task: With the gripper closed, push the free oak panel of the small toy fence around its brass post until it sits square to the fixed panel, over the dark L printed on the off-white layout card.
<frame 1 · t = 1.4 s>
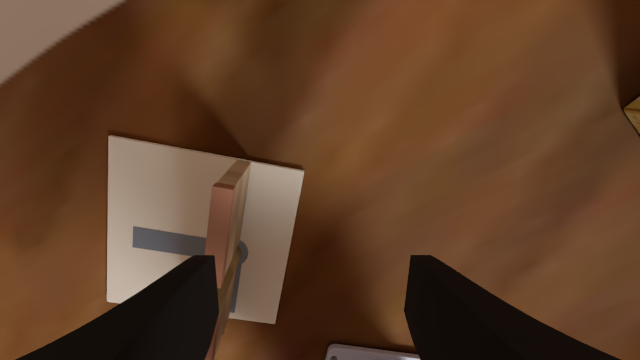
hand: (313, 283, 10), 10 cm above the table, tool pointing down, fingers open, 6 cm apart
layout card: (202, 237, 20), on the table
folding panel: (229, 218, 17), point 3 cm above the table, hinge at 0.0°
fixed panel: (233, 249, 20), resting on layout card
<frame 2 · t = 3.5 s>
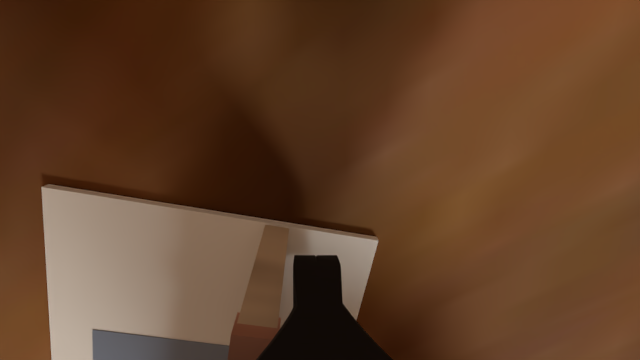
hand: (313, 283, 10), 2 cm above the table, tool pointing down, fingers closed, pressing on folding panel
layout card: (205, 340, 12), on the table
folding panel: (256, 343, 9), point 3 cm above the table, hinge at 0.2°, touching gripper
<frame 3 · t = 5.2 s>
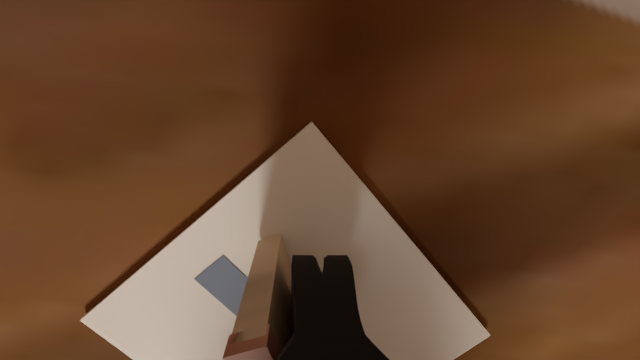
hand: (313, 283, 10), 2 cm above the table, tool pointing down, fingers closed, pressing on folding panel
layout card: (295, 322, 12), on the table
folding panel: (289, 350, 9), point 3 cm above the table, hinge at 66.4°, touching gripper
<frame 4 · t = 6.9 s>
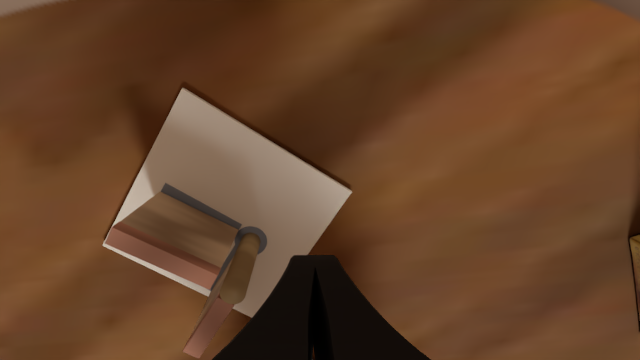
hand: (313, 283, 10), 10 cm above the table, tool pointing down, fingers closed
layout card: (227, 216, 20), on the table
folding panel: (182, 235, 17), point 3 cm above the table, hinge at 92.5°
fixed panel: (251, 238, 20), resting on layout card
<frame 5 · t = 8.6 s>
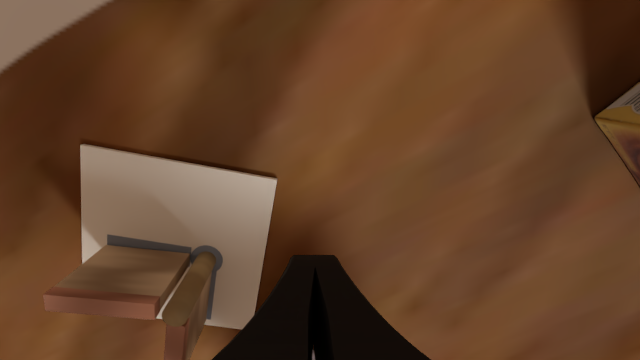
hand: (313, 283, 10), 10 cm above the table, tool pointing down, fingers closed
layout card: (176, 245, 20), on the table
folding panel: (127, 277, 17), point 3 cm above the table, hinge at 93.3°
fixed panel: (208, 257, 20), resting on layout card
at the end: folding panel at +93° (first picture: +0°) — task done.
